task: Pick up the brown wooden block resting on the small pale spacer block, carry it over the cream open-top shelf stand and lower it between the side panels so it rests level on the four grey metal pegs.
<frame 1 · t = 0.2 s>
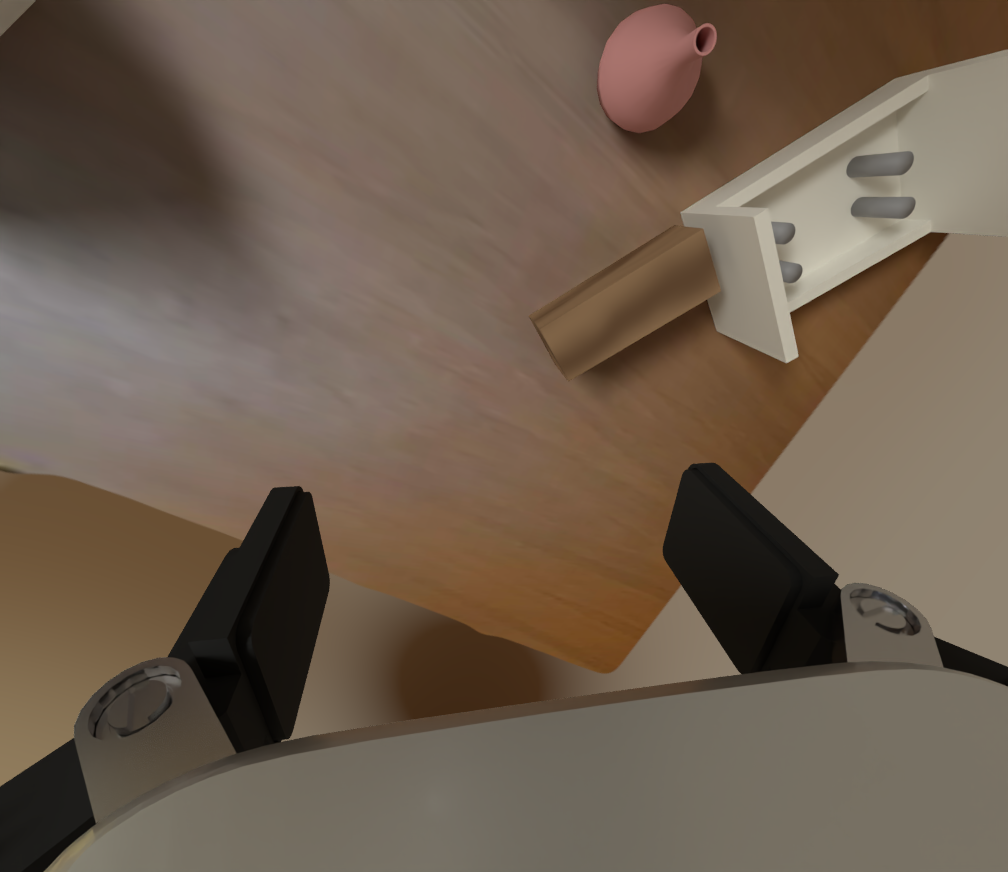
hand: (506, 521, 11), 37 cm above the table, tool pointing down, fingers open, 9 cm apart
pink vase: (627, 84, 37), on the table
brown wooden block: (611, 298, 44), point 2 cm above the table, touching spacer
stand: (796, 218, 45), on the table
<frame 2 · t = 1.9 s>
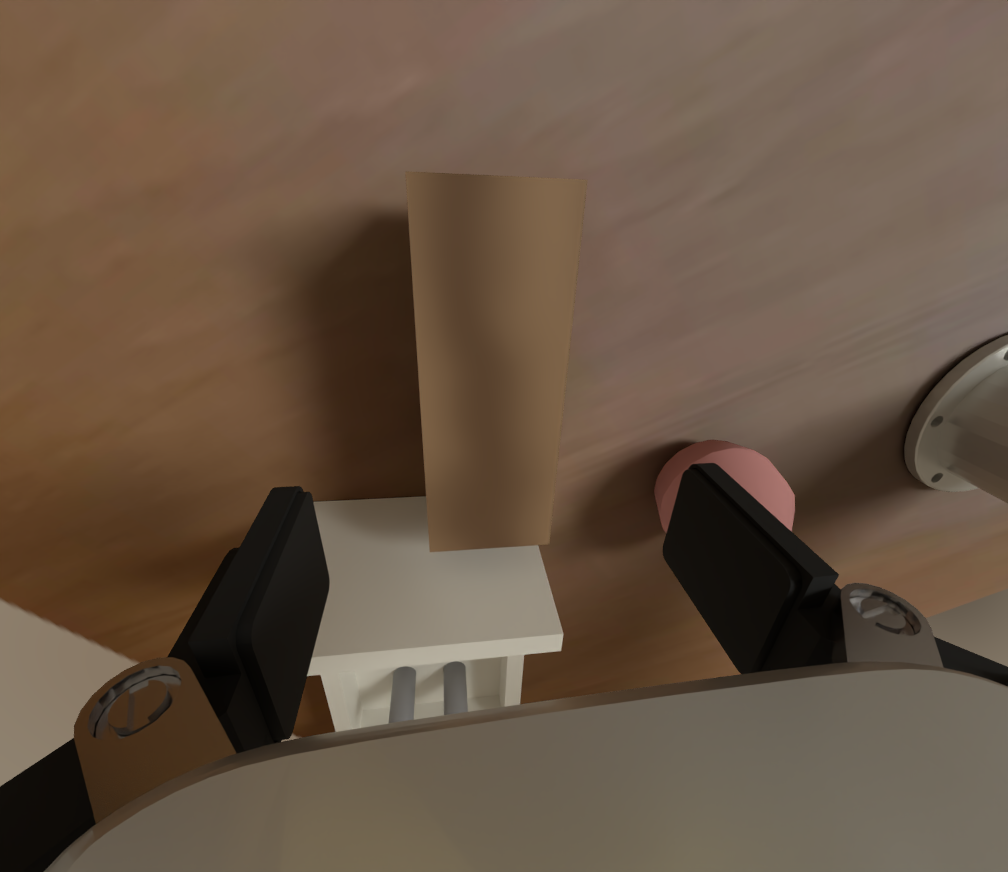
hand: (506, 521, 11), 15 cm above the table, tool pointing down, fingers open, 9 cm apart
pink vase: (689, 469, 31), on the table
brown wooden block: (483, 362, 22), point 2 cm above the table, touching spacer
stand: (426, 612, 34), on the table
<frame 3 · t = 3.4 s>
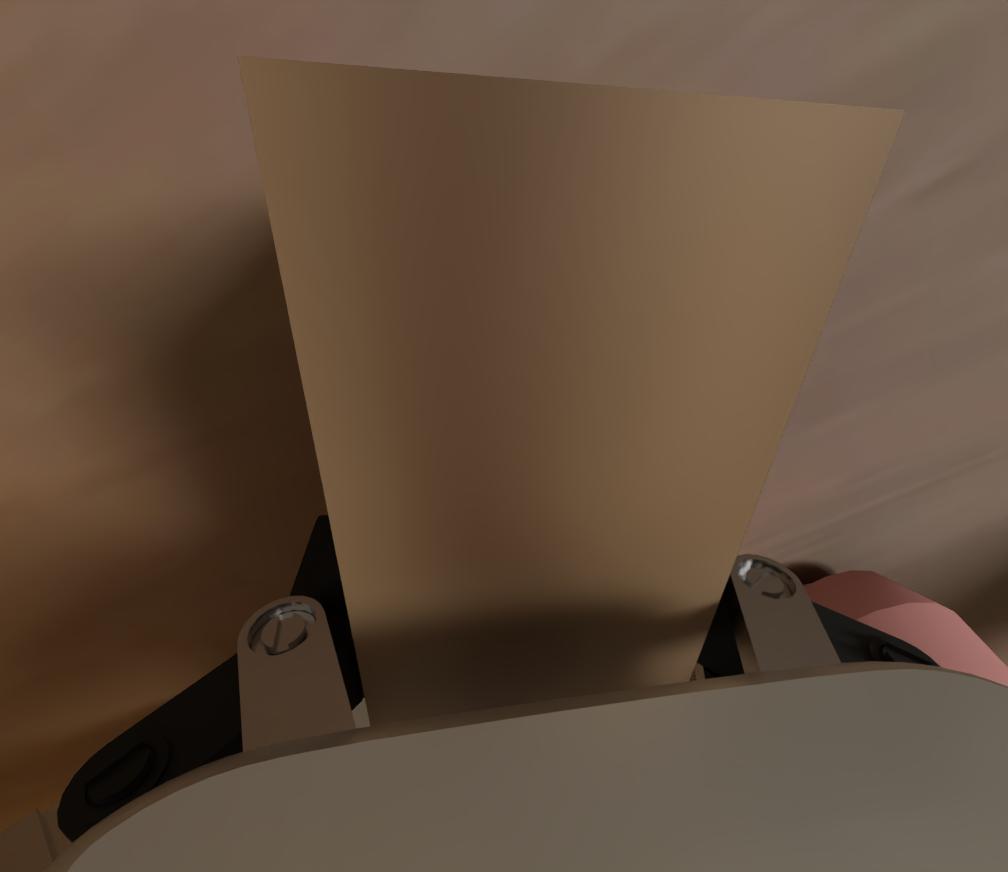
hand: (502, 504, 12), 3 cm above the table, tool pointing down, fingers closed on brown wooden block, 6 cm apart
pink vase: (797, 597, 21), on the table
brown wooden block: (500, 497, 12), point 2 cm above the table, touching gripper, spacer
stand: (409, 792, 23), on the table
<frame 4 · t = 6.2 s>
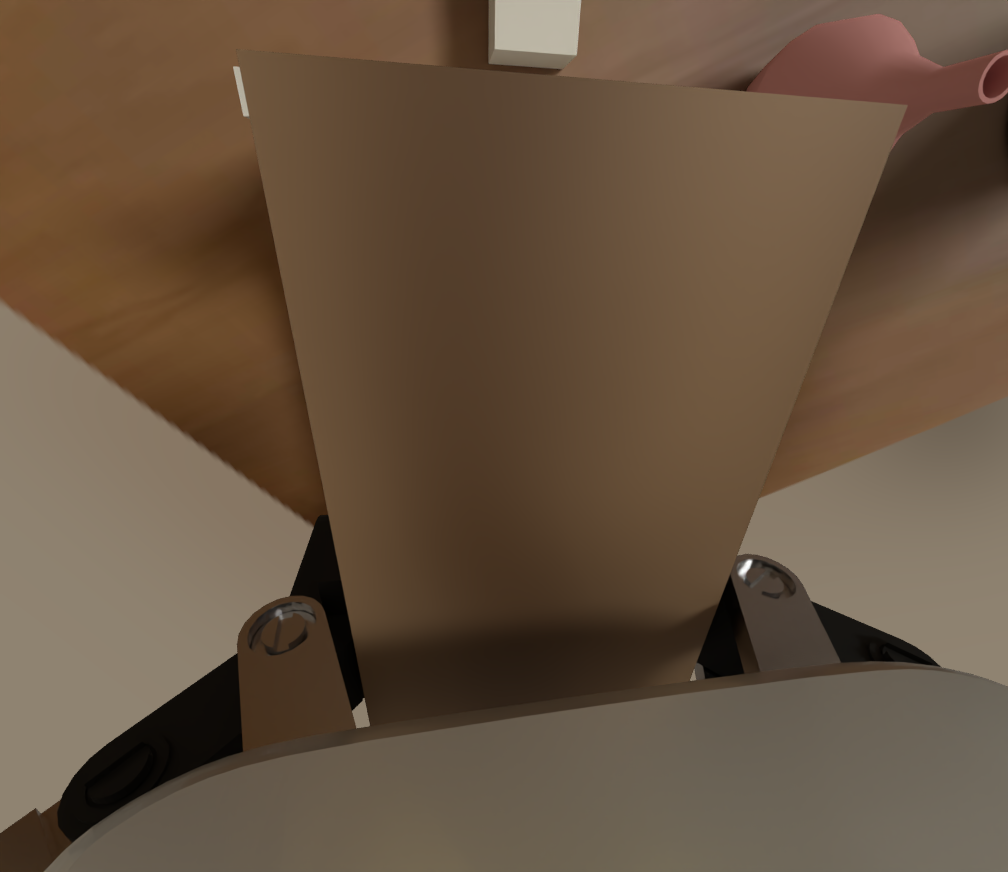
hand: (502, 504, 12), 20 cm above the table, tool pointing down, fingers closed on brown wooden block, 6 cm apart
pink vase: (767, 128, 26), on the table
brown wooden block: (500, 496, 12), point 19 cm above the table, touching gripper
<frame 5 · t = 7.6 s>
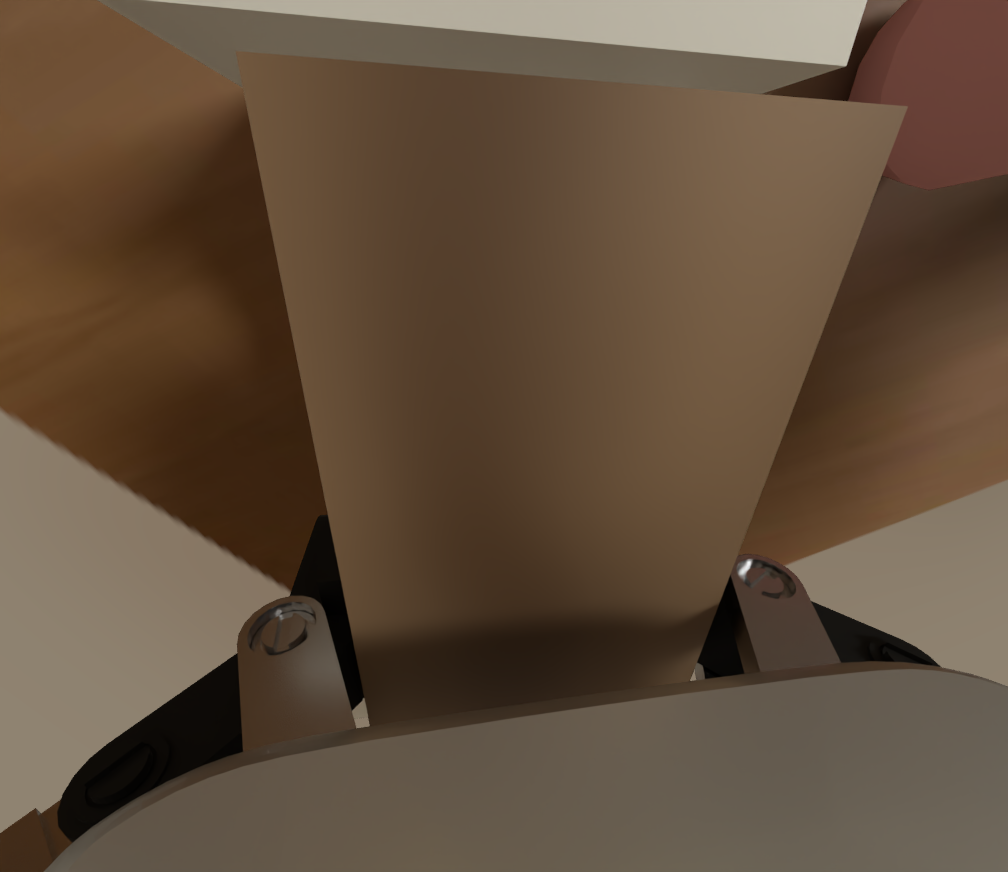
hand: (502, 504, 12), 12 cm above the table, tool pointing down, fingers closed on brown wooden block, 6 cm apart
pink vase: (888, 93, 20), on the table
brown wooden block: (500, 496, 12), point 12 cm above the table, touching gripper
stand: (470, 357, 22), on the table
when the fingers open (8 cm above the table, at t = 8.9 s): brown wooden block drops 1 cm, resting on stand.
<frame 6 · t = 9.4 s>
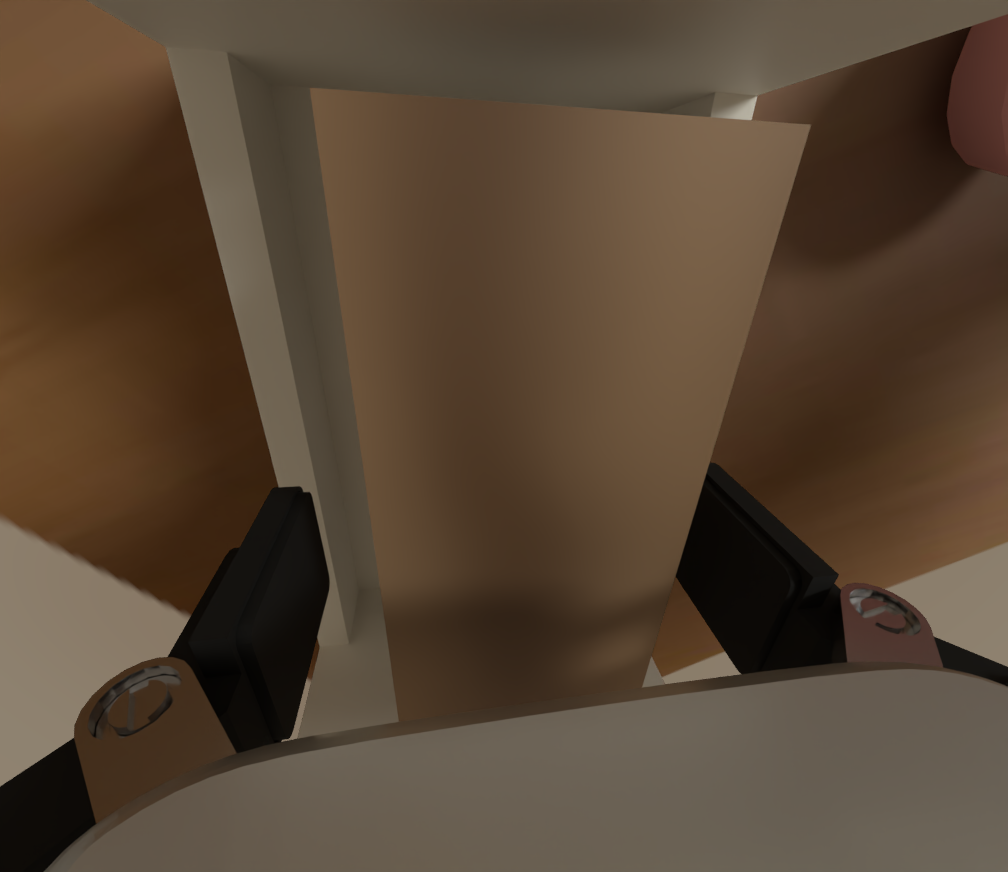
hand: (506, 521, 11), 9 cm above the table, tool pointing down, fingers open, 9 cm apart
pink vase: (991, 70, 16), on the table
brown wooden block: (500, 465, 13), point 6 cm above the table, touching stand
stand: (474, 391, 19), on the table
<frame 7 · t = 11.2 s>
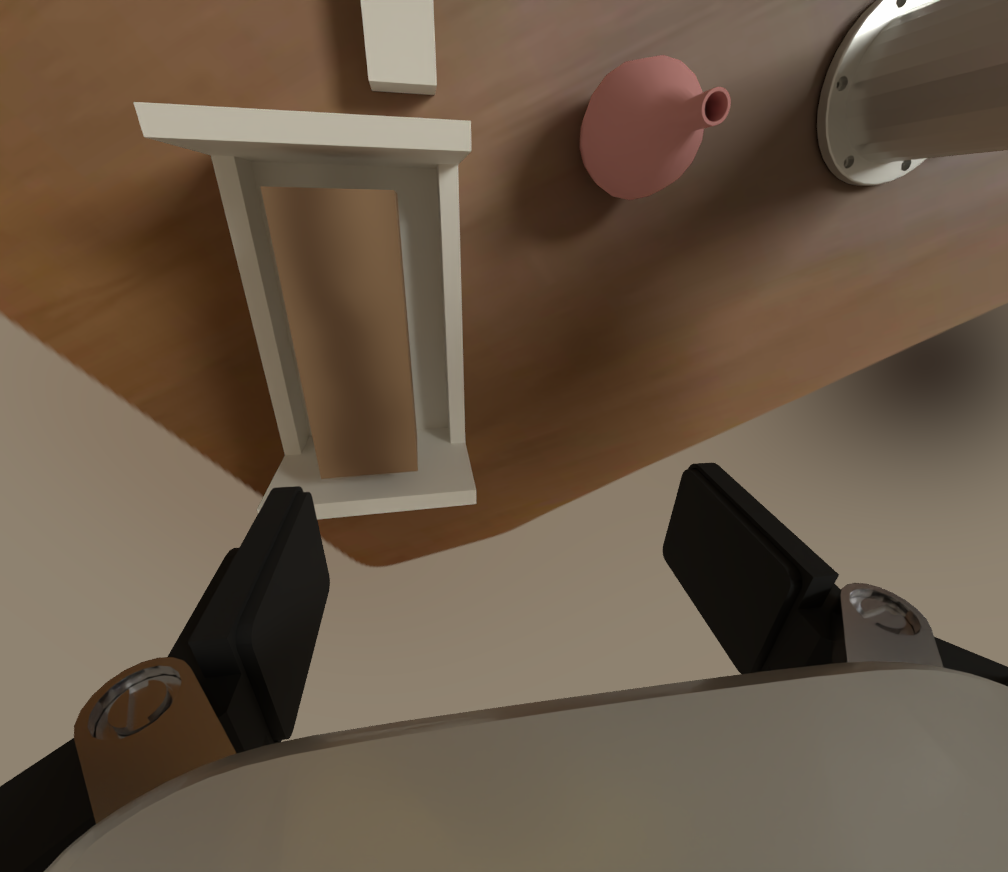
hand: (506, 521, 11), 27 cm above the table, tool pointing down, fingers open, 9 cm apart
pink vase: (614, 141, 32), on the table
brown wooden block: (361, 331, 28), point 6 cm above the table, touching stand
stand: (367, 313, 34), on the table
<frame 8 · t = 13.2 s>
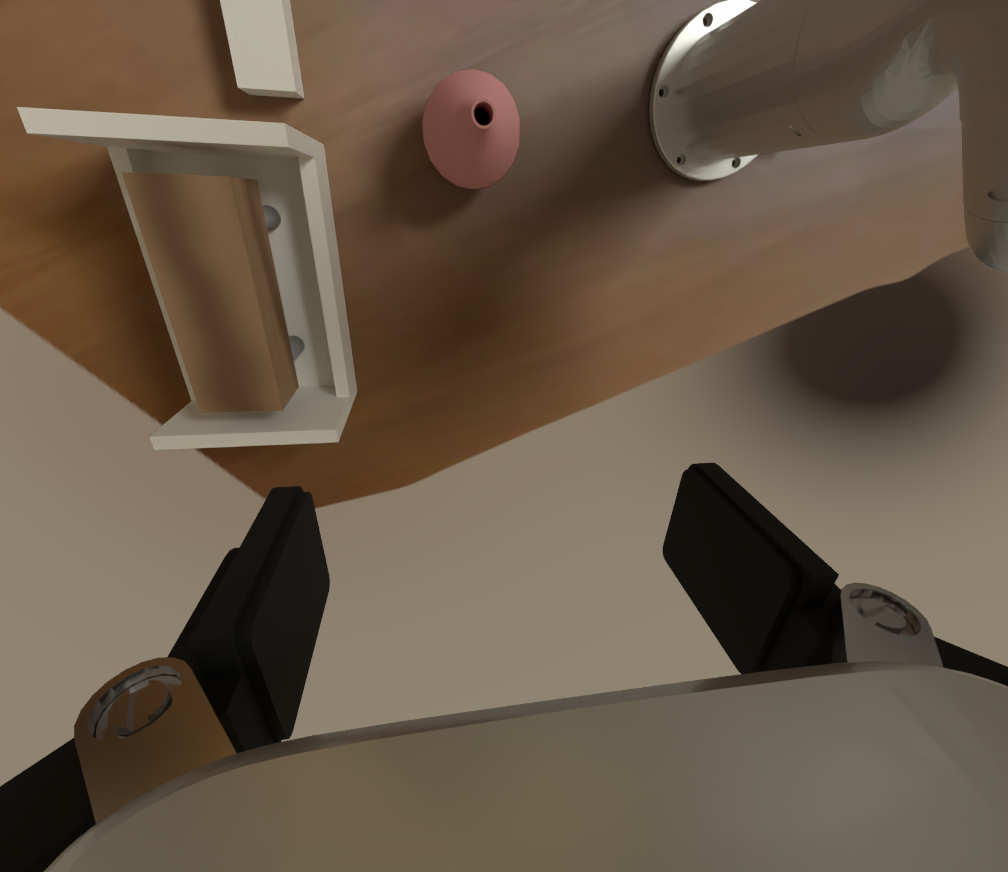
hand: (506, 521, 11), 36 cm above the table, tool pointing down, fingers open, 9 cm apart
pink vase: (468, 138, 37), on the table
brown wooden block: (240, 294, 35), point 6 cm above the table, touching stand
stand: (263, 283, 40), on the table
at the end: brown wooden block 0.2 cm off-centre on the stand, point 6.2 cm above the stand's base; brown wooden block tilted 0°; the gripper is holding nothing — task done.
